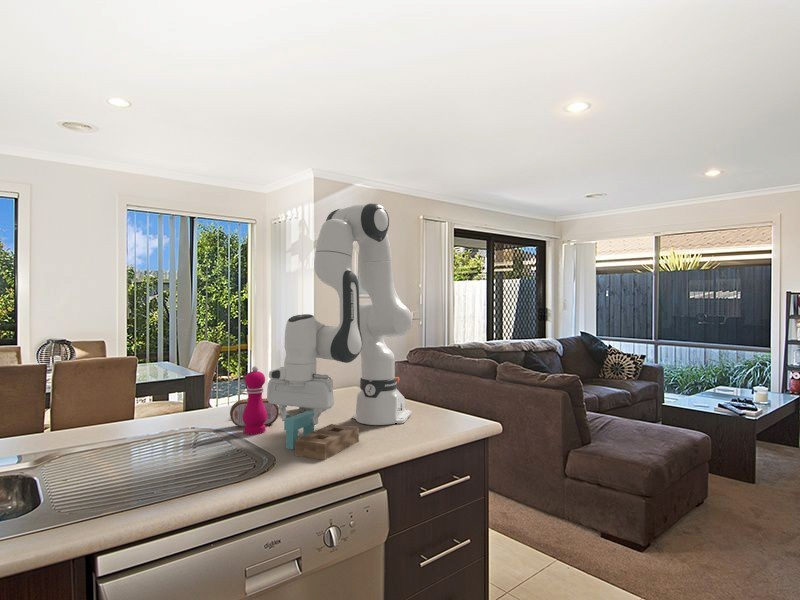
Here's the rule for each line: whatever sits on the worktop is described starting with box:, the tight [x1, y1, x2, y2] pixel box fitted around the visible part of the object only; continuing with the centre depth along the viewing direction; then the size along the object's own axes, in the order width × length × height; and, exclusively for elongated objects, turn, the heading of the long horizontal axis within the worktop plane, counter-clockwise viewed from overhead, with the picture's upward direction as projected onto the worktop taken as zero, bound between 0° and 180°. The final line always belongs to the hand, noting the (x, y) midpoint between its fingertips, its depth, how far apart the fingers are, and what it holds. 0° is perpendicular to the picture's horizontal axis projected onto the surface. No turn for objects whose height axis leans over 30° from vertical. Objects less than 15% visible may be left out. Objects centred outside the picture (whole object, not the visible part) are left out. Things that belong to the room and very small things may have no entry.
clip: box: [283, 411, 316, 450], centre depth 140 cm, size 11×3×8 cm, turn 157°
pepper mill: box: [243, 365, 267, 435], centre depth 152 cm, size 7×7×20 cm
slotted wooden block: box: [294, 423, 360, 461], centre depth 136 cm, size 18×9×4 cm, turn 157°
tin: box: [229, 398, 280, 428], centre depth 160 cm, size 15×3×8 cm, turn 108°
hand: (299, 422), depth 140 cm, fingers open, 8 cm apart
